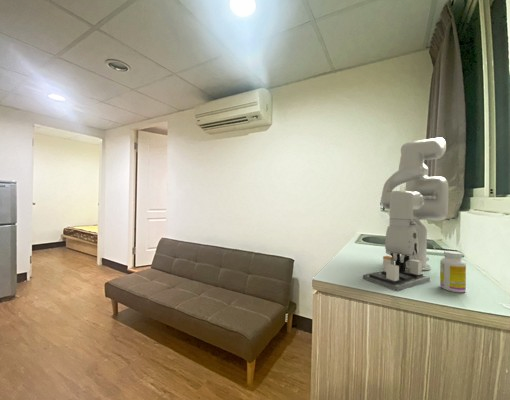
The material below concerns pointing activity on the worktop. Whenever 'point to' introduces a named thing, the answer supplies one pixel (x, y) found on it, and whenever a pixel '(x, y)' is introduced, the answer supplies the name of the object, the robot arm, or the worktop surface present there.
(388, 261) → the block
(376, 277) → the panel
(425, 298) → the worktop surface
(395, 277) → the block
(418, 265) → the block
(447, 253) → the supplement bottle
